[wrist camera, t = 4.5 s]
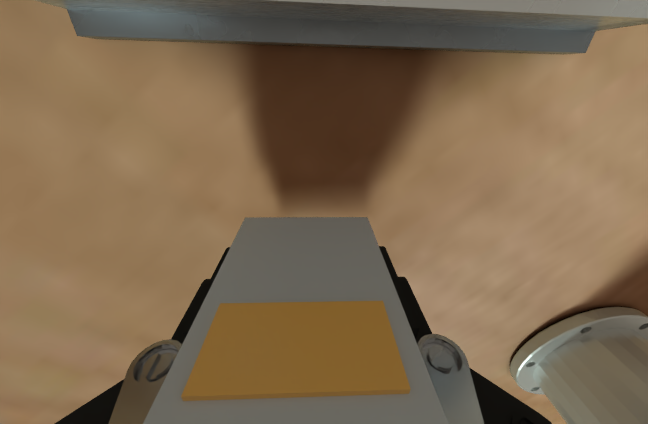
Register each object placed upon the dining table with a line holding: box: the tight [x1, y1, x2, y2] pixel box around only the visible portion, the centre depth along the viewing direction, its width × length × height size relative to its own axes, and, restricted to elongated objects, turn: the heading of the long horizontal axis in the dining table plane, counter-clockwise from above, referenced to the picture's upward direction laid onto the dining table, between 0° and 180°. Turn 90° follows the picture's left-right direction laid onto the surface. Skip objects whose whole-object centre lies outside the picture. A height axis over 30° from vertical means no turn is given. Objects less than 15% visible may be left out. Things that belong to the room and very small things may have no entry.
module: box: [143, 217, 448, 424], centre depth 8 cm, size 5×5×7 cm
